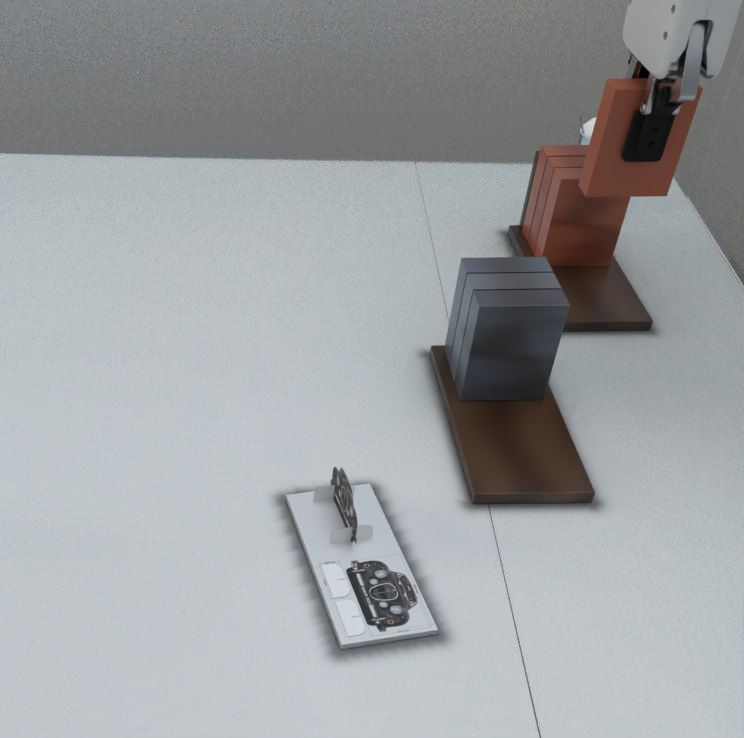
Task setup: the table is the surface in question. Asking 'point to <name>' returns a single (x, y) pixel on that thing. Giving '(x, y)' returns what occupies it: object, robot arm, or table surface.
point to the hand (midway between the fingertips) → (634, 150)
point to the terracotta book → (608, 138)
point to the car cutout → (359, 565)
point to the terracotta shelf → (591, 289)
